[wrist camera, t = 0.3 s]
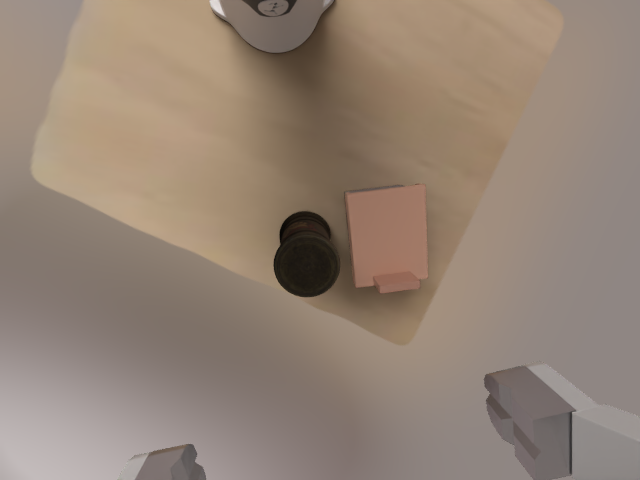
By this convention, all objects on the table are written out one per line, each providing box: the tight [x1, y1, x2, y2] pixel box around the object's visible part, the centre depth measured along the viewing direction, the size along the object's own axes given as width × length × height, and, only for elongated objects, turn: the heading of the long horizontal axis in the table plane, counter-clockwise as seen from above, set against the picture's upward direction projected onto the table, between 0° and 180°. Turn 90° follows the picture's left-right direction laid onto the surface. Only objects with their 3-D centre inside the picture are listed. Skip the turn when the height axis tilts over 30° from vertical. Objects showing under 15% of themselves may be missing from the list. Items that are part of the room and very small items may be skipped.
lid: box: [345, 184, 428, 294], centre depth 45 cm, size 15×12×6 cm
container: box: [274, 211, 340, 297], centre depth 46 cm, size 9×9×18 cm
